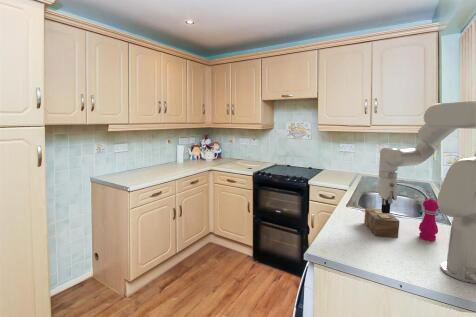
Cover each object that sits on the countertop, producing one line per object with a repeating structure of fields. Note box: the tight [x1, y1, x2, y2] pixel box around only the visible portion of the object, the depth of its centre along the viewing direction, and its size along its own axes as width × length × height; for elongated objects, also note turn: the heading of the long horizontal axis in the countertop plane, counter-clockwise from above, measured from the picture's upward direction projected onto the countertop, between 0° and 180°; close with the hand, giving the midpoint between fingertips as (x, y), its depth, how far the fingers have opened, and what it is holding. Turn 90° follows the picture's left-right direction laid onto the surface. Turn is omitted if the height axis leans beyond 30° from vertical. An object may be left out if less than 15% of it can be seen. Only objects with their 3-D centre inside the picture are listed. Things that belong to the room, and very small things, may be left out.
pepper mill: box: [418, 195, 440, 242], centre depth 124 cm, size 7×7×20 cm
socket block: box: [363, 208, 400, 238], centre depth 134 cm, size 16×10×8 cm, turn 172°
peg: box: [378, 215, 390, 219], centre depth 131 cm, size 4×4×8 cm
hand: (385, 212), depth 129 cm, fingers closed
